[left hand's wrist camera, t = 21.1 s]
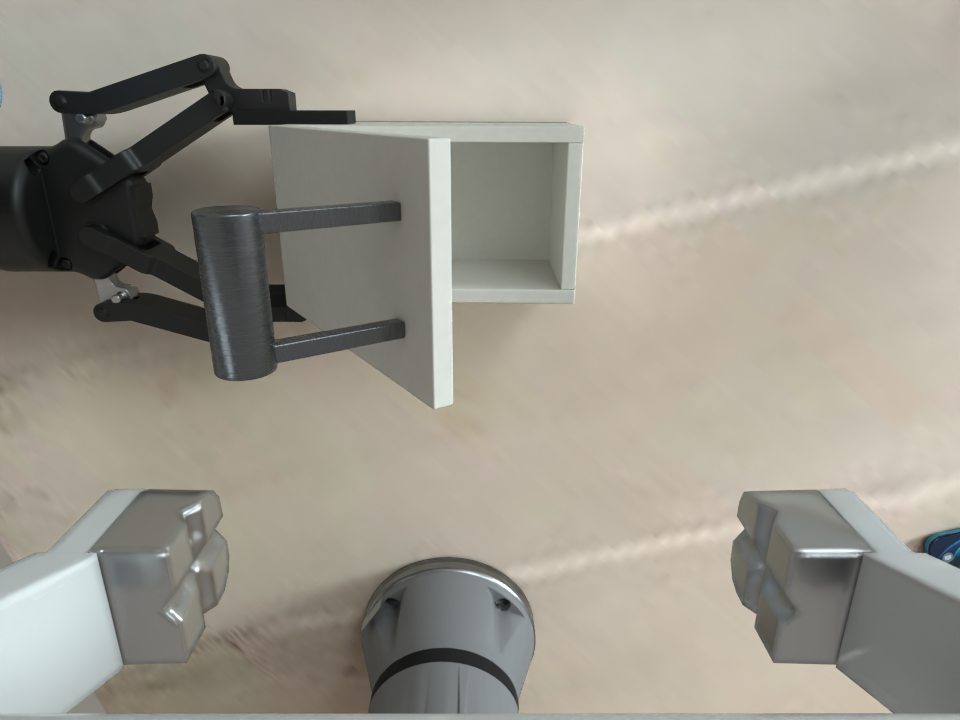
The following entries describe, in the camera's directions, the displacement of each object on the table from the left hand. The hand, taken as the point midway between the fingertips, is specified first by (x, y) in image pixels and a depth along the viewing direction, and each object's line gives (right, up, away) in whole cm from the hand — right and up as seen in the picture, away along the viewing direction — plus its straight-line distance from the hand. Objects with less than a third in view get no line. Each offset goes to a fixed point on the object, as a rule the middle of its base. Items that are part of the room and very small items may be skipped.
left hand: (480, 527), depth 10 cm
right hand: (-8, +12, +31) cm, 34 cm away
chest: (-3, +14, +37) cm, 40 cm away
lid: (-6, +8, +21) cm, 24 cm away
